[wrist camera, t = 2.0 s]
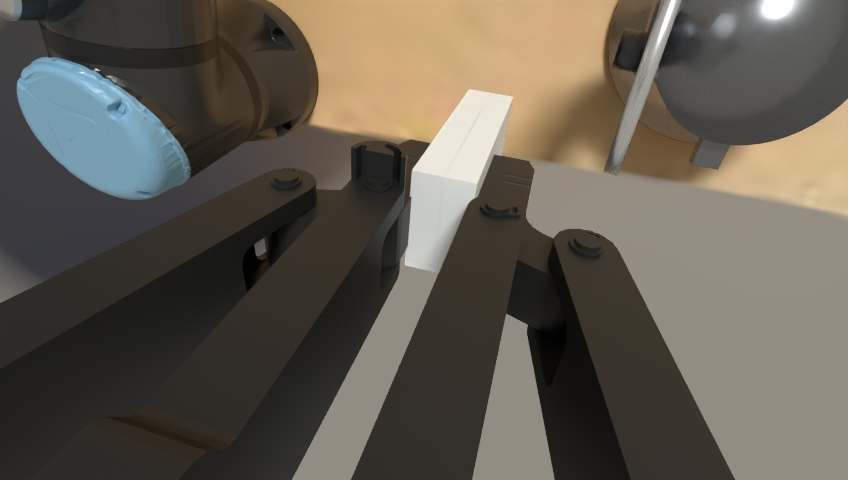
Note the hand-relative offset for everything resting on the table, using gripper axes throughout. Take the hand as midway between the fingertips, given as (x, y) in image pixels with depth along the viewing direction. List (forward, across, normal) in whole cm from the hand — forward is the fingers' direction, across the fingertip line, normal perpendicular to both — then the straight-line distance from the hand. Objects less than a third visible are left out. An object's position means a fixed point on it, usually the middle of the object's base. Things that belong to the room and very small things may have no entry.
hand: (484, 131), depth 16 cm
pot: (+32, +16, 0) cm, 35 cm away
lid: (+16, +8, 0) cm, 18 cm away
